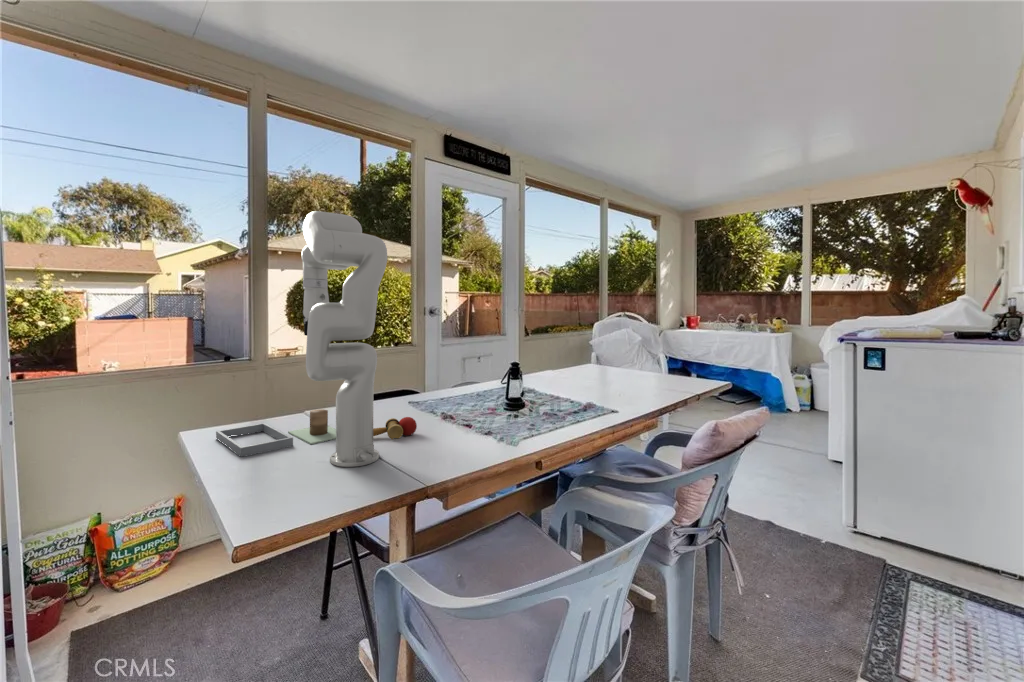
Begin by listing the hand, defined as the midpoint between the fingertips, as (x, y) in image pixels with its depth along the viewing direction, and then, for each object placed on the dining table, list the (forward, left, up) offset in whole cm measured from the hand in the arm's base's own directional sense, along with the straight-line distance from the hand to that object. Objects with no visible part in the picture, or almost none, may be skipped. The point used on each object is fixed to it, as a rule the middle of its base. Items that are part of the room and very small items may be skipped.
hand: (315, 336), depth 151 cm
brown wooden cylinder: (-12, +5, -30) cm, 33 cm away
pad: (-12, +5, -30) cm, 33 cm away
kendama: (-29, -9, -31) cm, 43 cm away
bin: (-7, +22, -30) cm, 38 cm away
